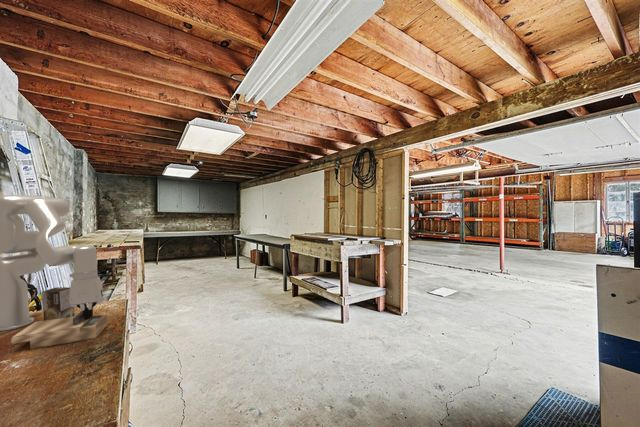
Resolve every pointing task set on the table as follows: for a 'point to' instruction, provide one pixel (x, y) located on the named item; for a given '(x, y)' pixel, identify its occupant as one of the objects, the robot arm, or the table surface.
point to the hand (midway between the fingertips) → (88, 318)
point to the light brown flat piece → (51, 328)
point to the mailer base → (86, 332)
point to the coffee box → (57, 303)
